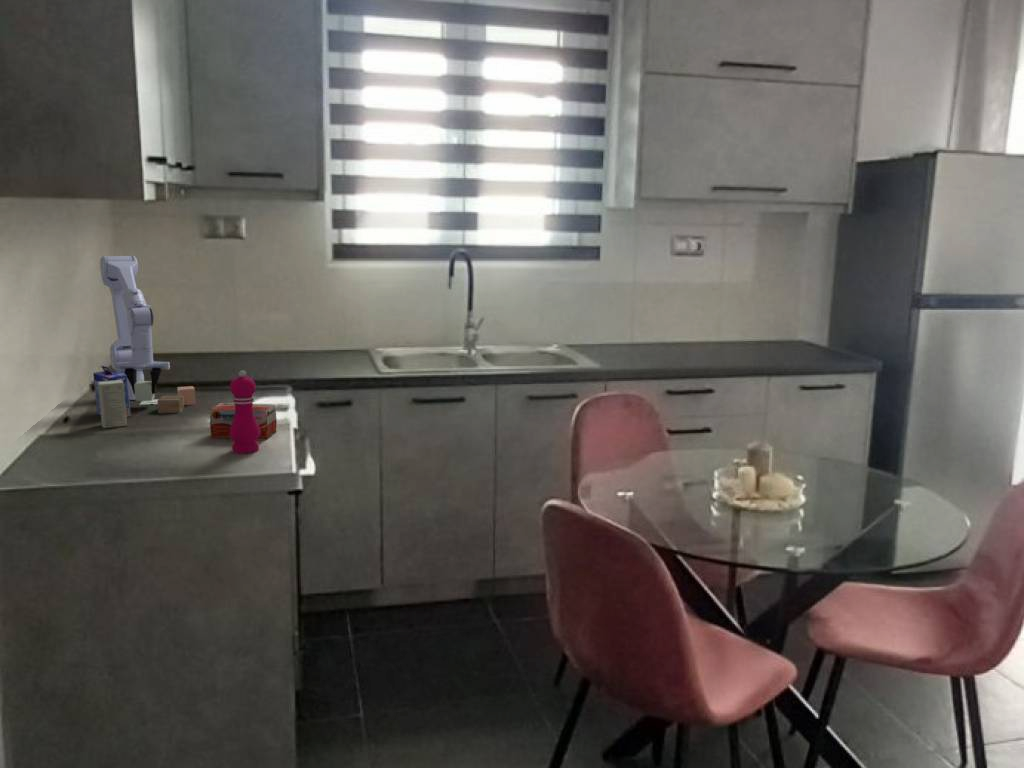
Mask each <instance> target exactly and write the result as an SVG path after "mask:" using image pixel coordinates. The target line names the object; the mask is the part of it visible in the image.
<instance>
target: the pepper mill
mask: <svg viewBox="0 0 1024 768" xmlns="http://www.w3.org/2000/svg"><path fill="white" fill-rule="evenodd" d="M256 389H257V386H256V382H255V381H254V379H252V378H251V377H249V376H247V372H246V371H245V370H244V369H243V370H240V371H239V372H238V377H235V378H234V379H233V380H231V382H230V385H229V391H230V392H231V394H232V395H233V397H232V399H233V400H232V403H235V415H234V419H233V421H232V424H231V427H230V434H229V435H230V438H229V439H231V440H232V441H233V443H232V444H231V447H232V450H231V451H232V453H236V454H241V453H244V454H250V453H249V452H253V453H255V452H254V451H256V452H258V451H259V449H260V446H259V445H260V444H259V442H258V441H257V440H259V439H258V438H259V436H260V428H259V425H258V423H257V421H256V419H255V417H254V414H253V408H252V405H253V404H254V402H255V400H254V399H255V396H254V394H255V393H256ZM257 450H258V451H257Z"/></svg>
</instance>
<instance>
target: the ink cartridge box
mask: <svg viewBox="0 0 1024 768" xmlns="http://www.w3.org/2000/svg"><path fill="white" fill-rule="evenodd" d="M101 368H102V369H103V371H97V372H96V371H95V372H92V375H93V383H94V392H95V393H94V394H95V396H94V397H95V403H96V413H97V415H99V416H101V410H100V399H99V389H98V382H102V381H113V380H122V381H123V382H124V393H125V405H126V416H127V418H128V417H131V407H130V400H129V394H128V385H127V375H125V374H121V373H117V371H115V370H111V369H110V368H109V367H108V366H105V365H101Z"/></svg>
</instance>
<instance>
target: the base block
mask: <svg viewBox="0 0 1024 768" xmlns="http://www.w3.org/2000/svg"><path fill="white" fill-rule="evenodd" d="M157 401H158V405H157V413H158V414H177V413H178V412H180V413H181V412H182V411H183V410H184V409H185V406H184V396H178V395H162V396H161V397H160V398H158V400H157ZM178 414H179V413H178Z"/></svg>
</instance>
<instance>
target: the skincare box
mask: <svg viewBox="0 0 1024 768" xmlns="http://www.w3.org/2000/svg"><path fill="white" fill-rule="evenodd" d="M98 389H99V399H100V410H101V415H100V421H101V427H102V428H103V429H106V428H107V429H108V428H116V427H124V426H126V427H127V426H128V417H127V416H126V405H125V393H124V382H123V381H122V380H113V381H102V382H98Z"/></svg>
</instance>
